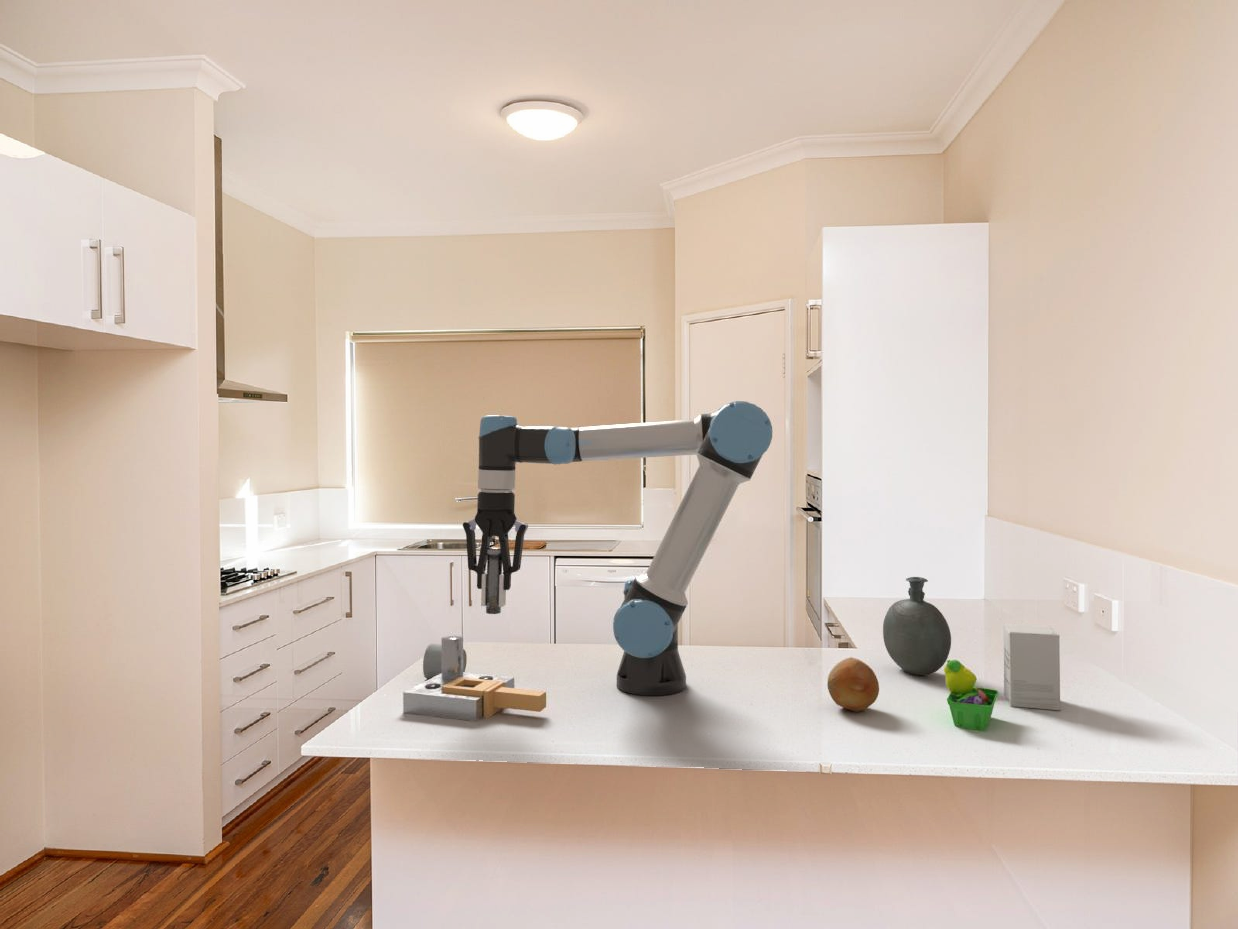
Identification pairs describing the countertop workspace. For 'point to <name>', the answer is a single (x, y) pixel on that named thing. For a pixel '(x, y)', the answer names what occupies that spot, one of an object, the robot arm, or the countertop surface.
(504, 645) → the countertop surface
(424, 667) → the ceramic mug
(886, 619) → the flask
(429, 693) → the grey latch block
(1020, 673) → the supplement box
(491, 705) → the bracket
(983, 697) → the fruit basket
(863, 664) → the onion
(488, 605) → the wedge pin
